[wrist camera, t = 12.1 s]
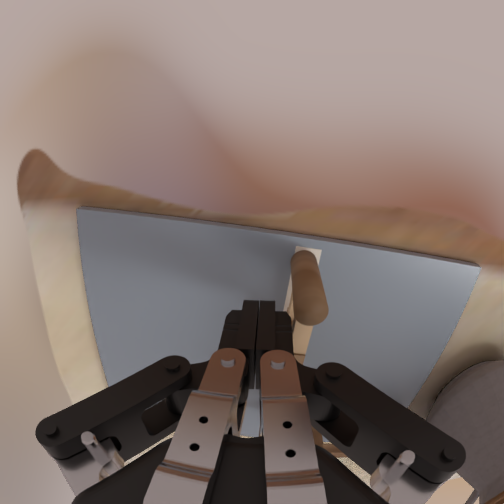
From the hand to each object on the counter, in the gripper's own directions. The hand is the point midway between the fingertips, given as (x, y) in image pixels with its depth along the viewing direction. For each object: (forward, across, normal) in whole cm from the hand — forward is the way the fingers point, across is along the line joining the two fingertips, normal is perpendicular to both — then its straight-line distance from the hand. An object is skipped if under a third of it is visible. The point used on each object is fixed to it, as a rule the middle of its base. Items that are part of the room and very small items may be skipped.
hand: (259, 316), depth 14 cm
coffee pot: (+4, -19, +17) cm, 26 cm away
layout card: (+4, 0, +6) cm, 7 cm away
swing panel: (+3, -2, +4) cm, 5 cm away
